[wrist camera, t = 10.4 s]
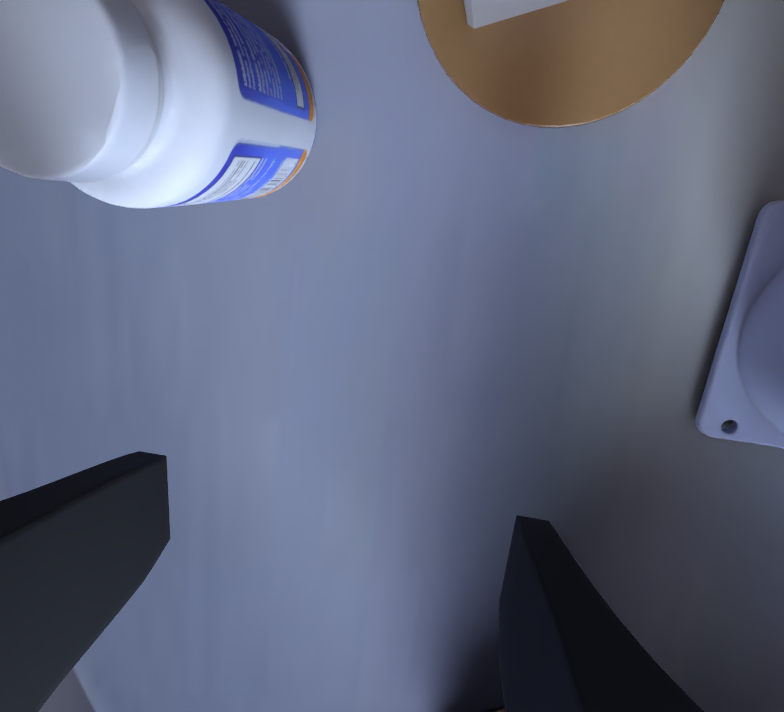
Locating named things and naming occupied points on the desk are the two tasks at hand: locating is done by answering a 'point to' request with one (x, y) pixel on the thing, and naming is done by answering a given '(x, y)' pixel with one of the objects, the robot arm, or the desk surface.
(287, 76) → the pill bottle
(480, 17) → the lighter
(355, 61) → the desk surface
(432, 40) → the coaster
